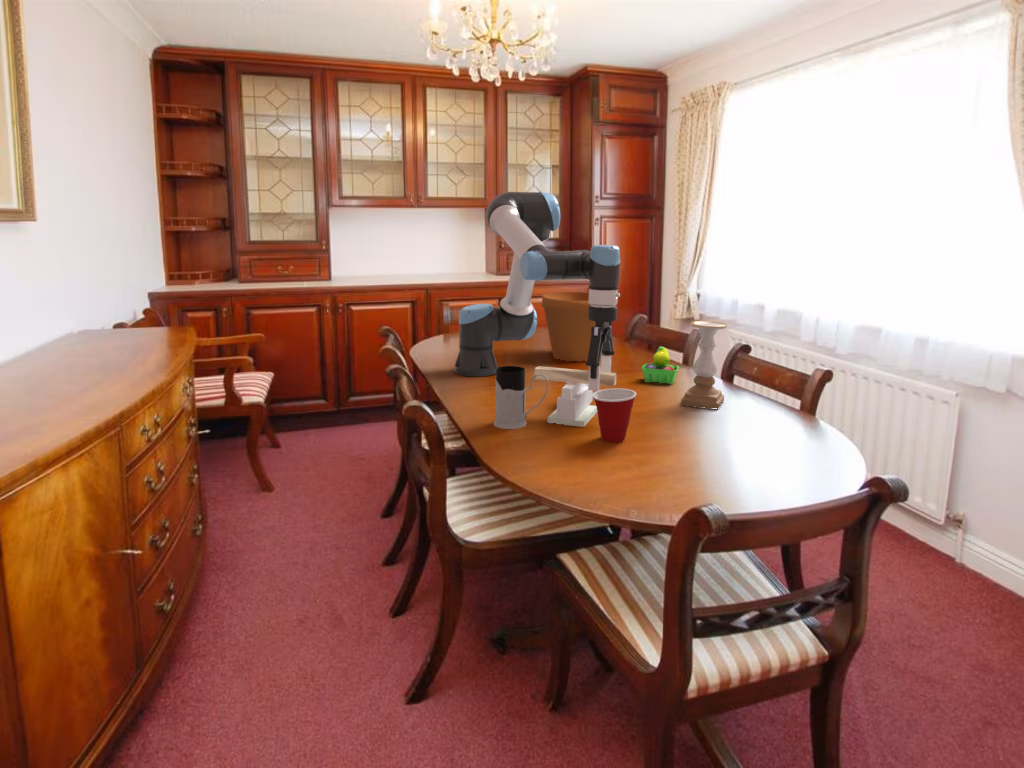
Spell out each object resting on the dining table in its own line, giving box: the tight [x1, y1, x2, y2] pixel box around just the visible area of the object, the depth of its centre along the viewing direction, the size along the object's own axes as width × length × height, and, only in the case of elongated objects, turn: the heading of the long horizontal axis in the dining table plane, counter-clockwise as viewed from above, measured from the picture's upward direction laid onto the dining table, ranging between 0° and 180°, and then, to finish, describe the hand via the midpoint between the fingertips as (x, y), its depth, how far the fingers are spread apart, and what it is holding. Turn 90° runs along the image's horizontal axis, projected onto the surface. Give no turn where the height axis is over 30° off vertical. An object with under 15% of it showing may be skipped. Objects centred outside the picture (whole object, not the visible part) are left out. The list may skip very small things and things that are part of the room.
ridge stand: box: [546, 382, 598, 428], centre depth 189 cm, size 16×10×10 cm, turn 160°
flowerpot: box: [541, 291, 617, 363], centre depth 267 cm, size 28×28×24 cm
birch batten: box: [534, 365, 617, 387], centre depth 188 cm, size 3×22×3 cm, turn 70°
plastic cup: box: [592, 387, 637, 443], centre depth 171 cm, size 11×11×12 cm
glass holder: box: [493, 365, 549, 430], centre depth 182 cm, size 9×14×15 cm, turn 88°
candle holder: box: [680, 320, 728, 409], centre depth 203 cm, size 11×11×24 cm
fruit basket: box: [641, 346, 680, 385], centre depth 231 cm, size 11×9×11 cm
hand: (599, 384), depth 186 cm, fingers open, 13 cm apart
